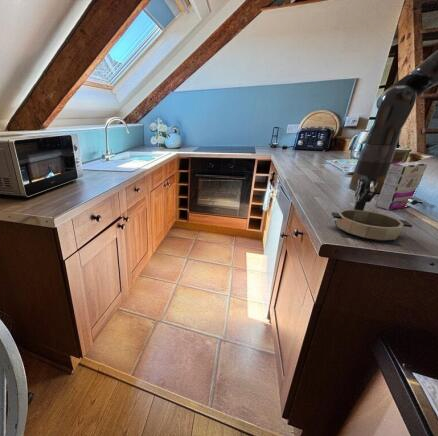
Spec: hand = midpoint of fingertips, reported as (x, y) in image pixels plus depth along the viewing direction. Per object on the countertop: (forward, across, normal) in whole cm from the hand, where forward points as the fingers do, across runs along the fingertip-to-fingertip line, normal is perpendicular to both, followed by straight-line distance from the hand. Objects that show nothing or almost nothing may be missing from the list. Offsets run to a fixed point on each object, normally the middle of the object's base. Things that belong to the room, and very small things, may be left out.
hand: (357, 211), depth 81 cm
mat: (+3, -11, 0) cm, 11 cm away
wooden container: (+3, +46, -15) cm, 48 cm away
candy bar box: (+3, +20, -15) cm, 25 cm away
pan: (+2, -12, 0) cm, 12 cm away
